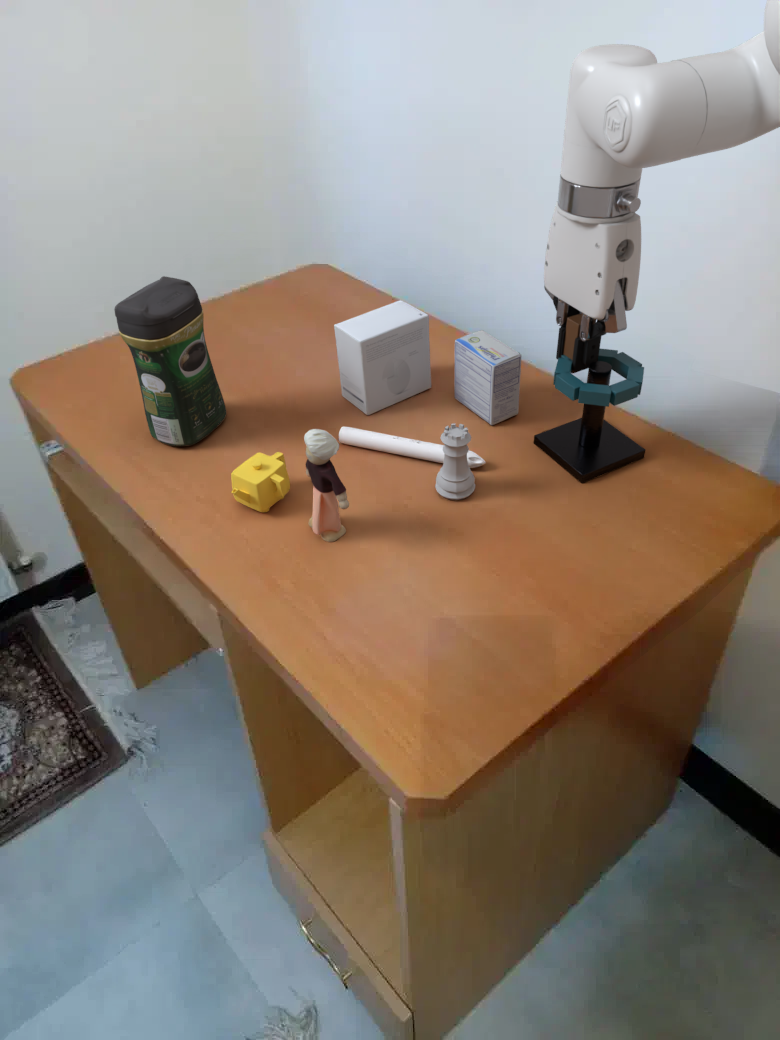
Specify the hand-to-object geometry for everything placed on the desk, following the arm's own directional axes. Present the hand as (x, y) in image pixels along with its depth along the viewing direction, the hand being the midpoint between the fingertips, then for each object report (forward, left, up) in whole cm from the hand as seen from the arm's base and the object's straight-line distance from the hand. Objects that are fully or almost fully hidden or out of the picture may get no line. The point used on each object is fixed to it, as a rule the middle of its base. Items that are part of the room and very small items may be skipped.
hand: (576, 361), depth 88 cm
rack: (-4, 0, -10) cm, 11 cm away
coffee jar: (+26, +39, -10) cm, 48 cm away
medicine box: (+10, +5, -10) cm, 15 cm away
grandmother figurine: (-1, +32, -10) cm, 34 cm away
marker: (+6, +18, -10) cm, 22 cm away
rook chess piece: (-2, +17, -10) cm, 20 cm away
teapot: (+7, +36, -10) cm, 38 cm away
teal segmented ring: (-4, 0, -1) cm, 4 cm away
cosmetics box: (+20, +14, -10) cm, 27 cm away
